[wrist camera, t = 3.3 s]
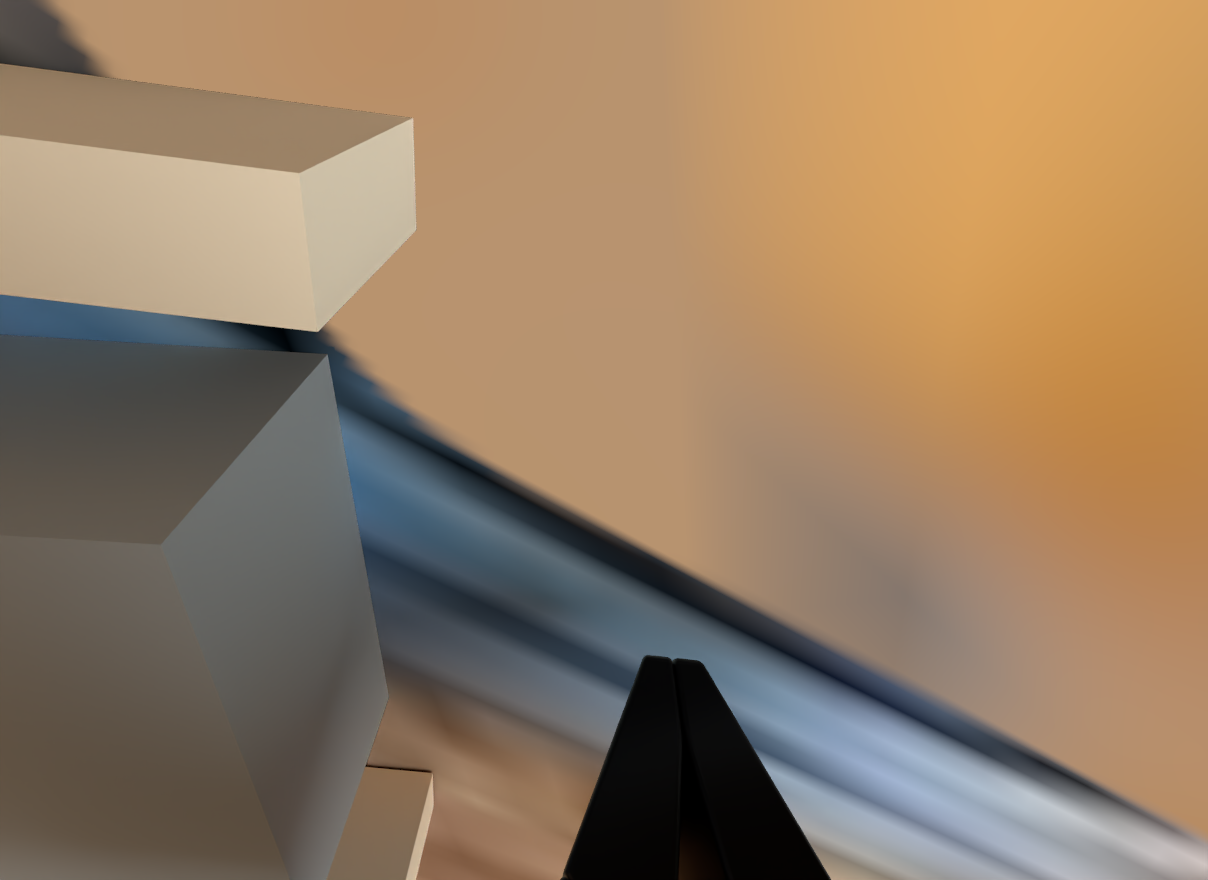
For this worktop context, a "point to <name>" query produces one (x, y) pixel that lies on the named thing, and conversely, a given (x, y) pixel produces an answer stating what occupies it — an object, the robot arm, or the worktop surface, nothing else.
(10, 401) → the slate block
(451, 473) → the worktop surface
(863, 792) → the worktop surface
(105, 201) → the trap lane
